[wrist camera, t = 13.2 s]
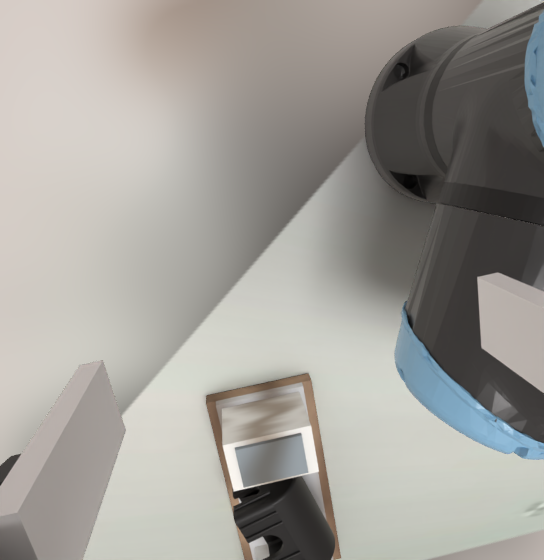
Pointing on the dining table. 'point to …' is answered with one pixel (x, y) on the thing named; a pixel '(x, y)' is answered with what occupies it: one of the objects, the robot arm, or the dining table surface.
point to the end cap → (284, 520)
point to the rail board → (271, 444)
